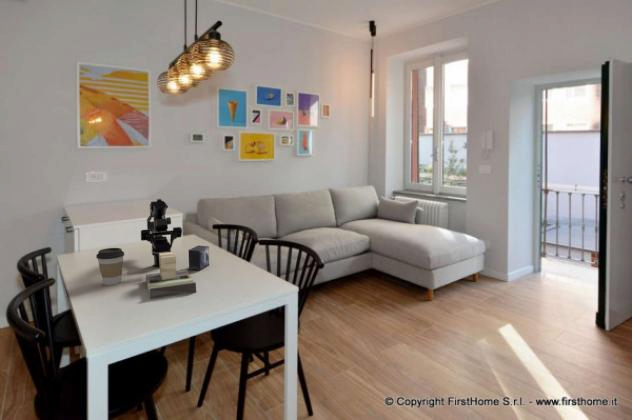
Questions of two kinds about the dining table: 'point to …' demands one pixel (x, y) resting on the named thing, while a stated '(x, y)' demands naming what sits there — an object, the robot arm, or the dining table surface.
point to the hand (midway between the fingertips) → (163, 248)
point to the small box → (198, 258)
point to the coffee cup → (111, 265)
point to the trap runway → (170, 285)
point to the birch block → (167, 265)
